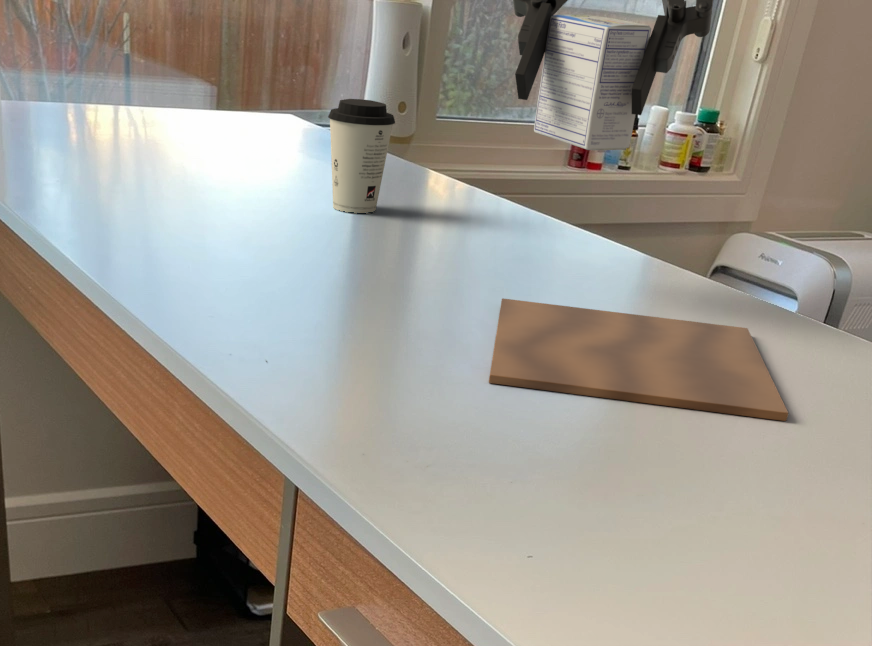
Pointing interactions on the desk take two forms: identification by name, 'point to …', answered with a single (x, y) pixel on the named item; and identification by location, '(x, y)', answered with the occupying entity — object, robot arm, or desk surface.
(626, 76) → the medicine box
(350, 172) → the coffee cup
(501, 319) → the wooden board
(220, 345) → the desk surface
